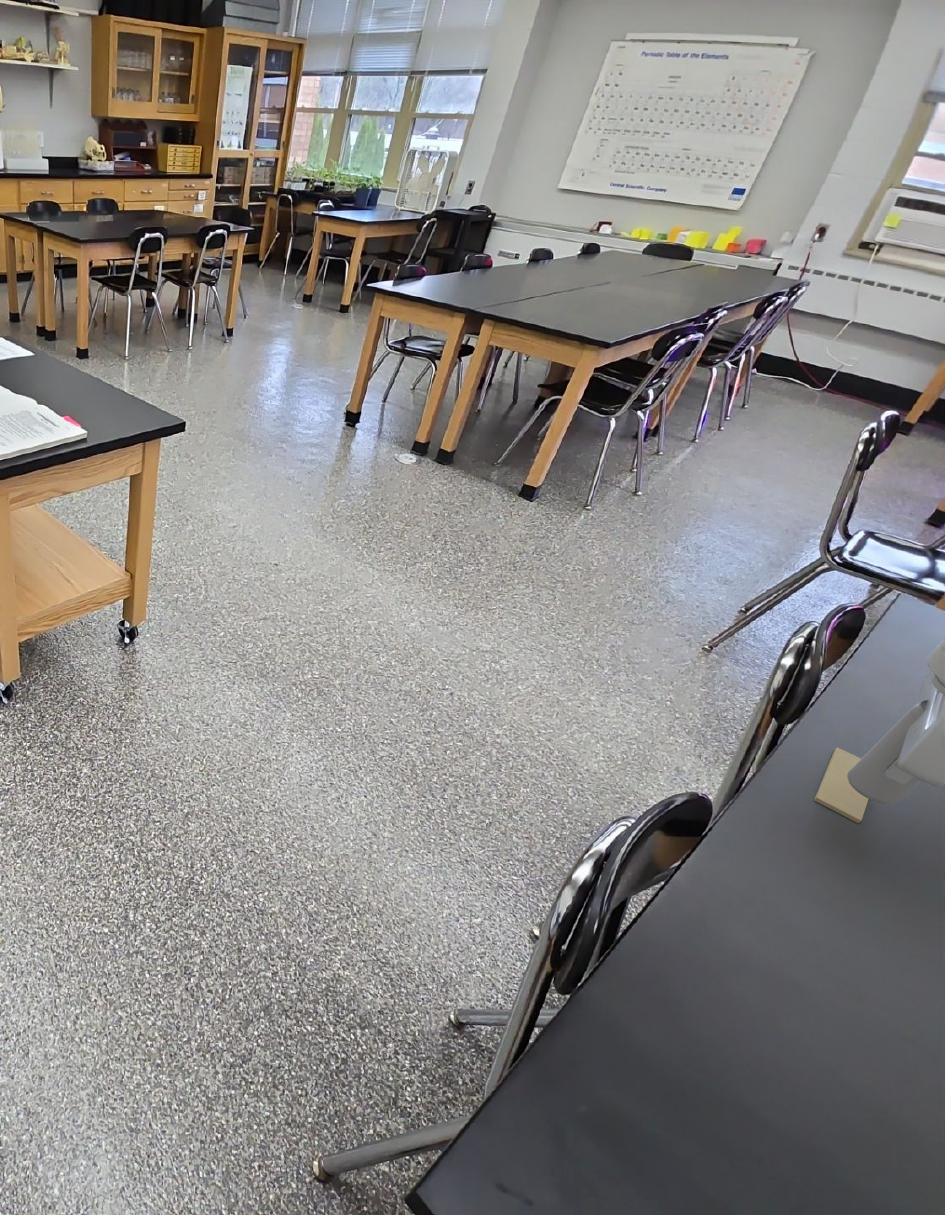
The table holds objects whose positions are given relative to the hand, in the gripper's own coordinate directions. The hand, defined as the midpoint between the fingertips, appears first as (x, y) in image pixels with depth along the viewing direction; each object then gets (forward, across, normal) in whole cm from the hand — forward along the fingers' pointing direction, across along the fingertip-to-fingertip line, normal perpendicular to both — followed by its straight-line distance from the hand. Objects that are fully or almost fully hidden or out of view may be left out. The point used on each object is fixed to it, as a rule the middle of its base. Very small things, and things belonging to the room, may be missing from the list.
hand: (898, 763), depth 79 cm
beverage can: (+5, 0, 0) cm, 5 cm away
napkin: (+12, +10, 0) cm, 16 cm away
